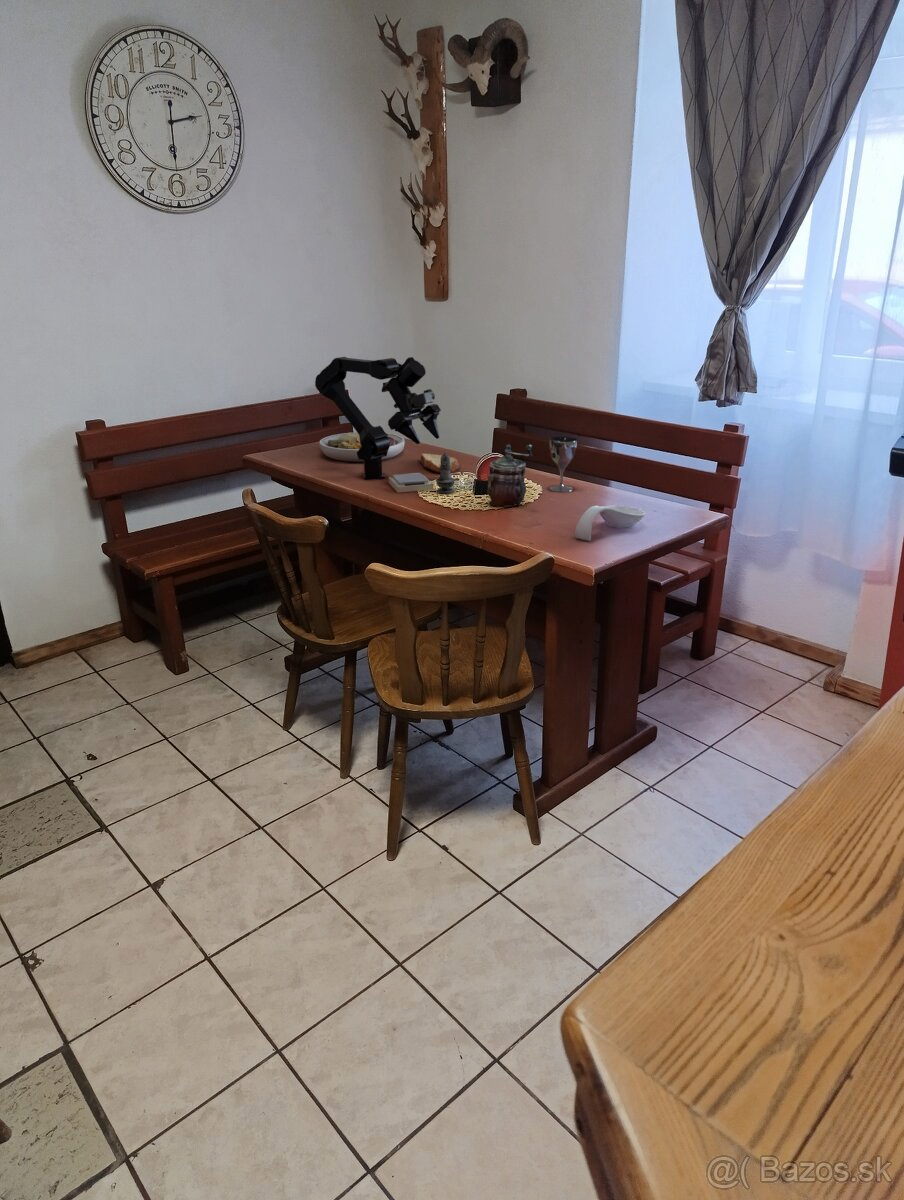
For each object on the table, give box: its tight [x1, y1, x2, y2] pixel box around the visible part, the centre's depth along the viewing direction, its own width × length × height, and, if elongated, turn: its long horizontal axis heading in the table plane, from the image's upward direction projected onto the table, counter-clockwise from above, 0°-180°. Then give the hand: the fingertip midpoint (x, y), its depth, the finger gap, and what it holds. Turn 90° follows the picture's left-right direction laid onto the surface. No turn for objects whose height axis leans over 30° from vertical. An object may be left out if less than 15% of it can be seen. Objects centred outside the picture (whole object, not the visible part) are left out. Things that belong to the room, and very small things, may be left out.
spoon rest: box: [574, 504, 646, 541], centre depth 207 cm, size 24×12×7 cm, turn 137°
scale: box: [388, 472, 434, 494], centre depth 248 cm, size 12×11×3 cm
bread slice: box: [420, 453, 460, 474], centre depth 271 cm, size 18×18×4 cm
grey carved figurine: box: [435, 451, 456, 495], centre depth 241 cm, size 6×6×12 cm
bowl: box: [318, 431, 406, 463], centre depth 288 cm, size 30×30×8 cm
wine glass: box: [548, 436, 578, 493], centre depth 242 cm, size 8×8×15 cm
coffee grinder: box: [486, 444, 534, 508], centre depth 227 cm, size 13×15×18 cm
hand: (428, 440), depth 242 cm, fingers open, 9 cm apart
